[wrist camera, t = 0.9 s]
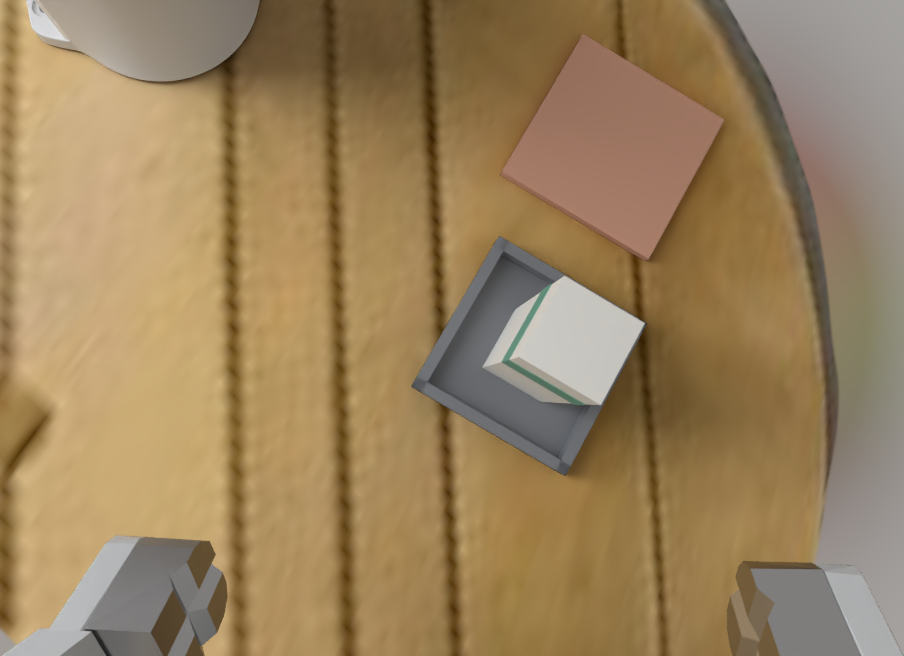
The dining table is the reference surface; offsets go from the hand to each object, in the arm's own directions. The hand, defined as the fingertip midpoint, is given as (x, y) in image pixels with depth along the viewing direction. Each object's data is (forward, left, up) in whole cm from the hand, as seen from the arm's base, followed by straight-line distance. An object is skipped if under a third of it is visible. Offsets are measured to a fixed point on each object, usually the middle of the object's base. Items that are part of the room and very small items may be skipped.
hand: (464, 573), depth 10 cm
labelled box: (-2, +10, -37) cm, 39 cm away
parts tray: (-2, +10, -38) cm, 39 cm away
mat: (-14, +23, -38) cm, 46 cm away
